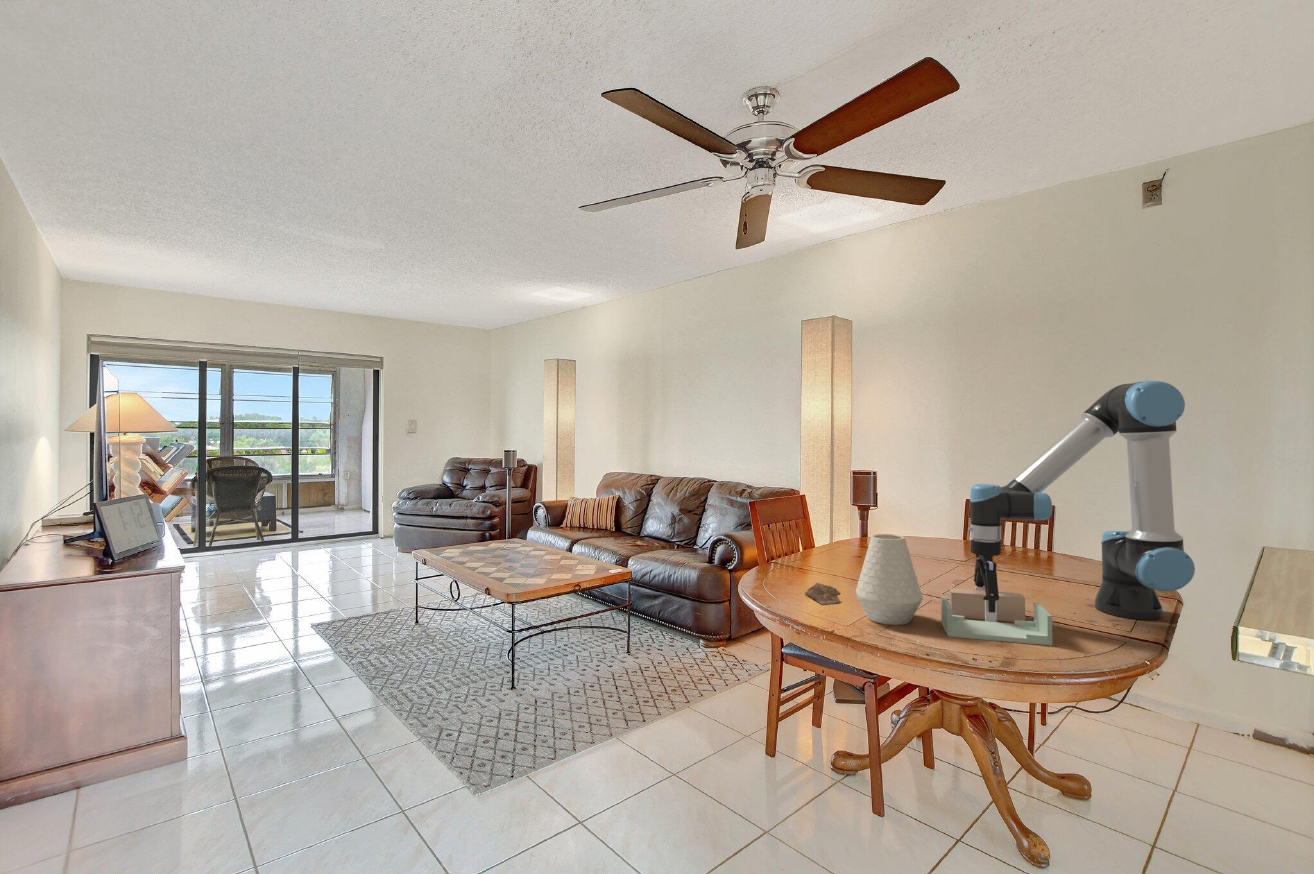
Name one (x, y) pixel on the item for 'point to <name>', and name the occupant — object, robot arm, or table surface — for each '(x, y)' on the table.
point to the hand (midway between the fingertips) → (985, 616)
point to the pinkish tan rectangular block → (974, 605)
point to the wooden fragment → (823, 594)
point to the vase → (888, 581)
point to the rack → (999, 627)
